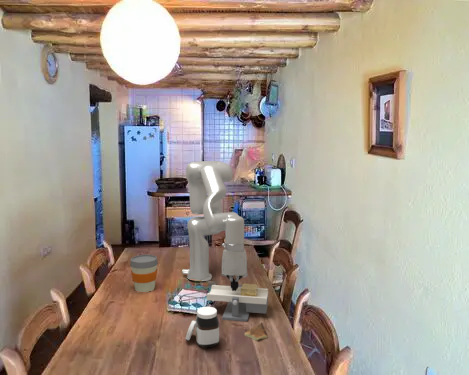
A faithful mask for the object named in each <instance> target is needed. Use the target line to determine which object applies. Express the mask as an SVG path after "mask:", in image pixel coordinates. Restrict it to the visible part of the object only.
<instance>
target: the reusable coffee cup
mask: <svg viewBox="0 0 469 375" xmlns="http://www.w3.org/2000/svg"><path fill="white" fill-rule="evenodd" d="M130 267H131V271H130V273H131V278H132V282H133V285H134V290H136V291H139V292H147V293H149V292H148V291H151V292H153V291H154V290H155V288H156V280H157V276H158V257H157V256H156V255H155V254H154V255H153V254H138V255H135V256H133V257H131V258H130ZM152 290H153V291H152ZM136 291H135V292H136ZM139 292H138V293H139Z"/></svg>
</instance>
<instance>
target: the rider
mask: <svg viewBox="0 0 469 375" xmlns="http://www.w3.org/2000/svg"><path fill="white" fill-rule="evenodd" d="M241 285H242V287H241V296H253V297H256V296H257V288H258V284H256V283H245V282H244V283H242V284H241Z"/></svg>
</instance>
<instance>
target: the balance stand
mask: <svg viewBox="0 0 469 375" xmlns="http://www.w3.org/2000/svg"><path fill="white" fill-rule="evenodd" d="M242 285H243V284H238V287H242ZM250 314H251V312H246V303H239V297H233V298H232V302H227V305H226V307H225V310H224V313H223V314H222V316H221V320H223V321H224V320H225V321H237V322H238V321H239V322H248V321H249V316H250Z"/></svg>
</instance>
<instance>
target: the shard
mask: <svg viewBox="0 0 469 375" xmlns="http://www.w3.org/2000/svg"><path fill="white" fill-rule="evenodd" d="M244 336H245V337H247V338H249V339H252V340H254V341H257V342H258V341H259V340H260V341H261V340H262V339H268V337H269V336H268V333H267V331H266V328H265V326H264V324H263V322H260V323H258V324H257V325H255V326H253V327H251V328H250V329H248V330H247V331H246V332H244Z"/></svg>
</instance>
